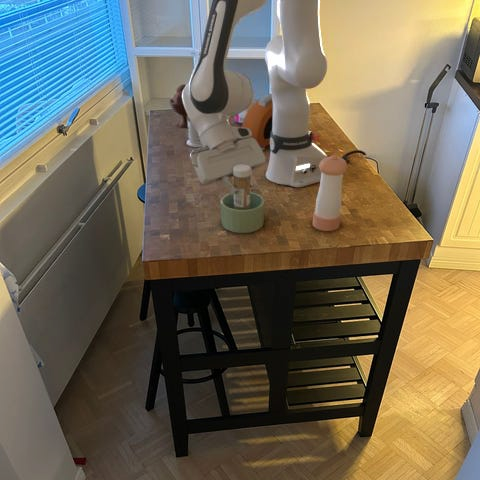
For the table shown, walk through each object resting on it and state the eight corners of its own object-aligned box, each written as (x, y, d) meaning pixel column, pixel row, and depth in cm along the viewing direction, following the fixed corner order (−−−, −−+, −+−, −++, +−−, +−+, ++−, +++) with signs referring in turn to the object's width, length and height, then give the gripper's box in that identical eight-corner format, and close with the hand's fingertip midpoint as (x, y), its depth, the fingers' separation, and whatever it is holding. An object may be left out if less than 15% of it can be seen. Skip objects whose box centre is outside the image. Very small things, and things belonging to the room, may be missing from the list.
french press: (181, 143, 177) (174, 70, 161) (200, 134, 184) (195, 63, 168) (202, 149, 173) (197, 73, 156) (220, 139, 180) (218, 66, 164)
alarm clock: (256, 153, 169) (257, 103, 158) (240, 146, 174) (240, 98, 164) (303, 138, 180) (306, 91, 169) (286, 132, 186) (289, 85, 175)
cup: (254, 209, 136) (255, 188, 132) (270, 228, 128) (270, 206, 124) (216, 216, 133) (215, 195, 129) (229, 236, 125) (228, 214, 121)
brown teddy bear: (169, 122, 195) (165, 83, 185) (195, 119, 198) (193, 80, 188) (174, 131, 187) (170, 90, 178) (201, 128, 190) (199, 87, 180)
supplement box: (254, 121, 196) (254, 91, 188) (247, 125, 192) (247, 95, 184) (242, 119, 198) (242, 89, 190) (235, 123, 194) (234, 93, 187)
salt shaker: (307, 224, 129) (313, 155, 117) (323, 215, 133) (331, 147, 121) (328, 234, 126) (337, 163, 113) (344, 224, 129) (355, 155, 117)
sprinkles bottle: (253, 215, 129) (254, 168, 120) (239, 220, 127) (239, 172, 118) (244, 209, 132) (244, 162, 123) (230, 213, 130) (229, 166, 121)
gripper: (191, 145, 116) (216, 196, 116) (254, 127, 126) (278, 174, 126) (182, 157, 121) (207, 206, 122) (243, 139, 131) (266, 184, 132)
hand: (243, 189), depth 124 cm, fingers closed on sprinkles bottle, 4 cm apart
